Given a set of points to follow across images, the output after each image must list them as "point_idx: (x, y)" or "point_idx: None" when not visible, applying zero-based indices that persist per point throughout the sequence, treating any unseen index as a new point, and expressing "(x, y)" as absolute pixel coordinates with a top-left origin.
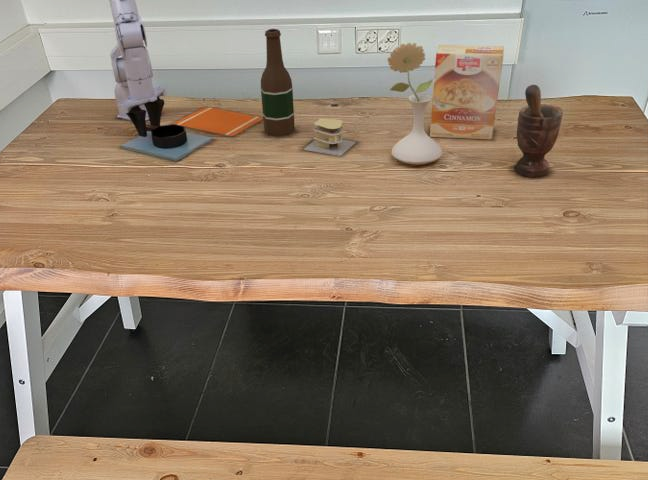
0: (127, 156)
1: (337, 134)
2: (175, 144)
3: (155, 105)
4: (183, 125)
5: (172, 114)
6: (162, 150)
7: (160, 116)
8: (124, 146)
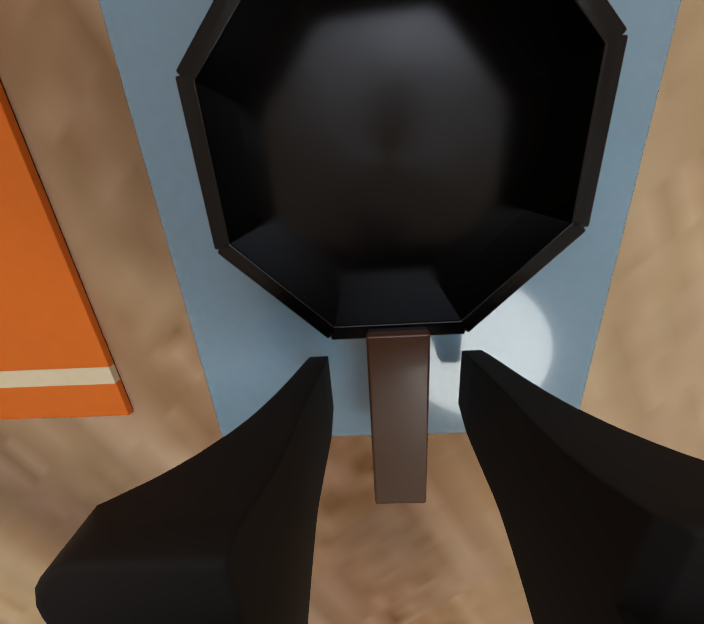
0: (681, 297)
1: None
2: None
3: (267, 560)
4: (91, 336)
5: (52, 496)
6: None
7: (262, 411)
8: (577, 402)
